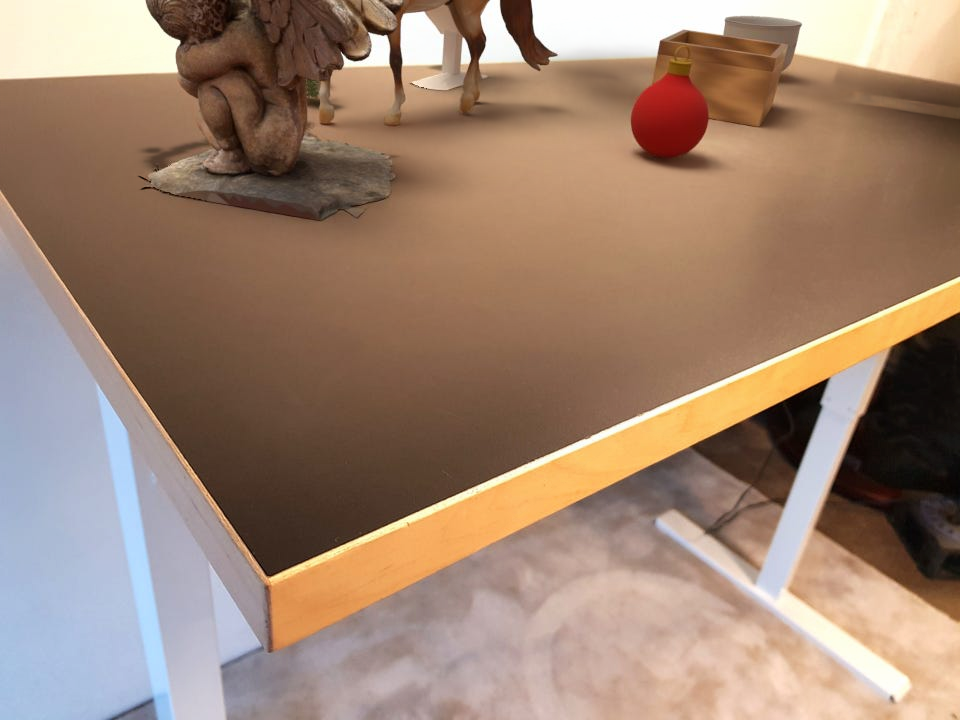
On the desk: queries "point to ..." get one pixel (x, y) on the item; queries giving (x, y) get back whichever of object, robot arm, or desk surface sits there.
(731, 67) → the wooden box
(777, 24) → the teacup
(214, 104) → the cherub figurine
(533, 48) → the horse figurine
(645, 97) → the christmas ornament
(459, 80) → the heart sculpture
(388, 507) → the desk surface
